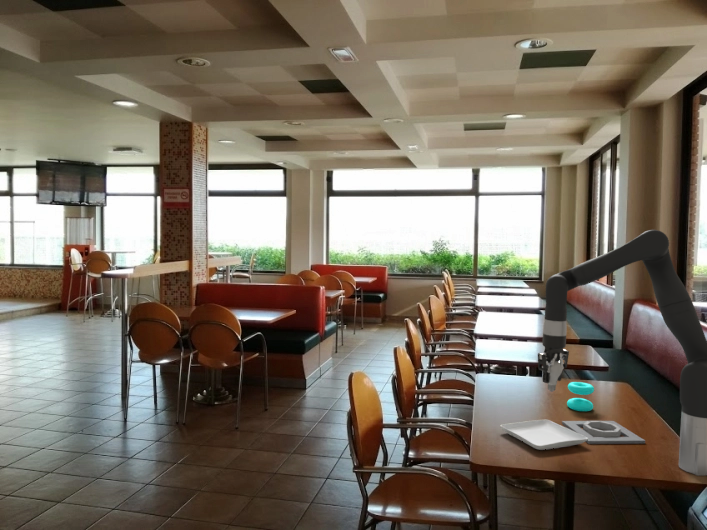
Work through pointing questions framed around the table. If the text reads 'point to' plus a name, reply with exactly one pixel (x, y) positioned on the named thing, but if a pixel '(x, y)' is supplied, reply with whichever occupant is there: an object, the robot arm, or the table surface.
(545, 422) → the salad plate
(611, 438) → the bulb socket stand
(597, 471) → the table surface
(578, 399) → the donuts
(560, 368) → the lightbulb
